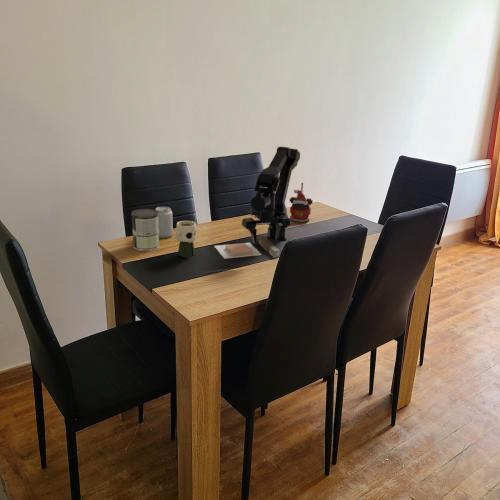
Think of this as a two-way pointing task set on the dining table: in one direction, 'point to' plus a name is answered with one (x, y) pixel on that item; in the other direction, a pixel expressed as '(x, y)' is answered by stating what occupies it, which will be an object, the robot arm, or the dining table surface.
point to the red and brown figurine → (300, 206)
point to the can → (165, 222)
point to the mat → (227, 255)
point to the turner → (269, 246)
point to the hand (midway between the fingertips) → (265, 242)
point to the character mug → (186, 238)
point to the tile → (238, 249)
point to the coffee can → (145, 229)
